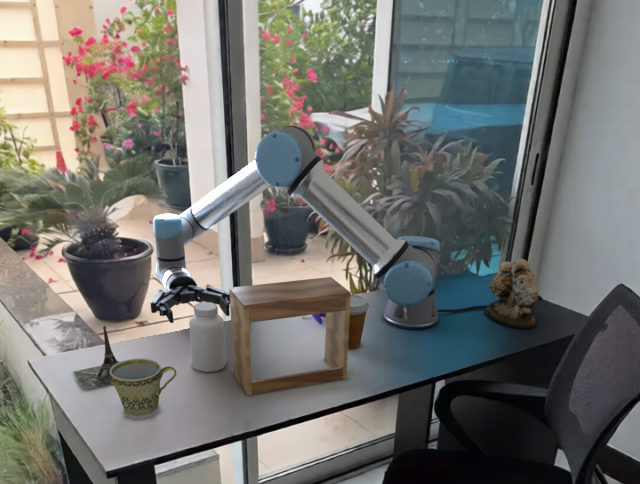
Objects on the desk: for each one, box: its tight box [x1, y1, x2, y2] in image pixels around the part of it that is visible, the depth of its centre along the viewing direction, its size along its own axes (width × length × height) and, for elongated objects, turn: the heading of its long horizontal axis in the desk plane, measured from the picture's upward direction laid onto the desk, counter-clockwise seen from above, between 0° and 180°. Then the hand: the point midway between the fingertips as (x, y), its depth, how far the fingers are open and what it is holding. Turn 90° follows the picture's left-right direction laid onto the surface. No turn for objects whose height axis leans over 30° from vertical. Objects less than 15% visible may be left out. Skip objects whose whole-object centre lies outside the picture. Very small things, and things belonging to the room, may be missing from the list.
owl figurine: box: [484, 258, 539, 330], centre depth 185 cm, size 18×12×17 cm, turn 30°
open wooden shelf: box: [228, 276, 352, 396], centre depth 147 cm, size 11×24×21 cm, turn 114°
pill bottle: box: [188, 301, 227, 373], centre depth 153 cm, size 8×8×15 cm
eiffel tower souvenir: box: [73, 325, 120, 389], centre depth 147 cm, size 15×10×13 cm
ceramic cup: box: [110, 358, 177, 421], centre depth 135 cm, size 13×10×10 cm
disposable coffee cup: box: [348, 294, 370, 350], centre depth 166 cm, size 10×10×12 cm
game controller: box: [302, 313, 326, 325], centre depth 181 cm, size 10×8×10 cm
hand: (200, 314), depth 156 cm, fingers open, 13 cm apart
